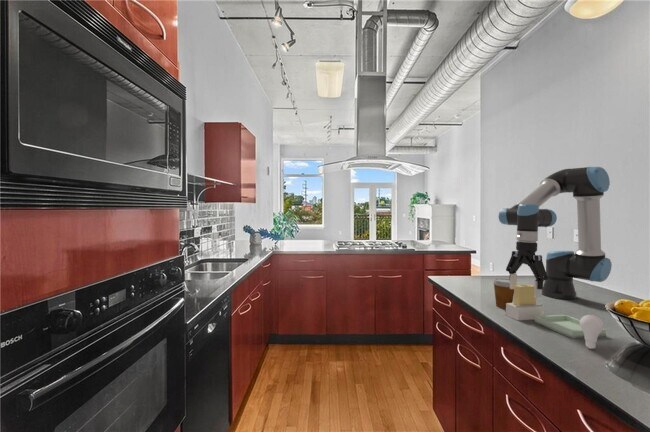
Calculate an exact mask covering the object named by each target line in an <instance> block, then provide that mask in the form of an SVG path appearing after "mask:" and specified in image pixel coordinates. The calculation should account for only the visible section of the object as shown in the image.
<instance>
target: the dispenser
mask: <svg viewBox="0 0 650 432" xmlns="http://www.w3.org/2000/svg"><path fill="white" fill-rule="evenodd" d="M505 316H507V317H510V318H512V319H514V320H516V321H532V320H534V321H535V316H545V306H544V305H543V304H538V303H536V305H518V306H515V305H514V302H512V303H506V308H505Z"/></svg>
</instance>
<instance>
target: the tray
mask: <svg viewBox="0 0 650 432" xmlns="http://www.w3.org/2000/svg"><path fill="white" fill-rule="evenodd" d="M534 323H535V324H538V325H540V326H542V327H544V328H546V329H550V330H552V331H554V332H556V333H559V334H561V335H563V336H566V337H568V338H569V339H585V336H584V332H583V330H582V329H581V327H580V319H578V318H575V317H573V316H571V315H567V314H553V315H549V314H548V315H544V316H535V319H534ZM606 336H607V329H606V328H604V327H603V330H602V331H601V333H600V334H599V335H598V338H599V337H600V338H601V337H606Z"/></svg>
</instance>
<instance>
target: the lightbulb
mask: <svg viewBox="0 0 650 432" xmlns="http://www.w3.org/2000/svg"><path fill="white" fill-rule="evenodd" d="M579 320H580V327H581V329H582V330H583V332H584V336H585V338H584V340H585V347H586V348H588V350H593V349H596V345H597V341H598V338H599V337H598V335H599V334H600V333H601V331H602V330H603V328H604V322H603V321H602V320H601V318H599V317H598V316H596V315H593V314H586V315H583V316H582V317H581V318H580V319H579Z"/></svg>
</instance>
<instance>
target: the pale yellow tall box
mask: <svg viewBox="0 0 650 432" xmlns="http://www.w3.org/2000/svg"><path fill="white" fill-rule="evenodd" d="M534 286H535V284H534V285H533V284H518V285H514V296H513V303H514V305H515V306H518V305H536V304H537V297H534Z"/></svg>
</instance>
